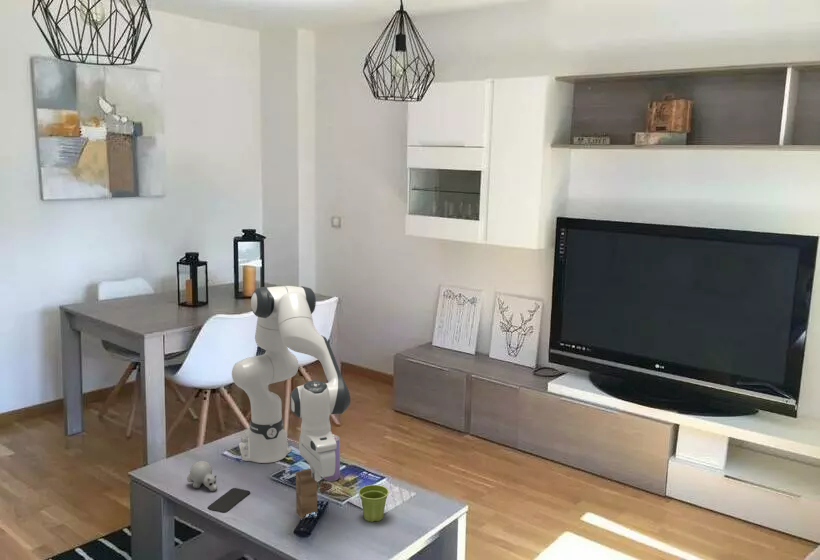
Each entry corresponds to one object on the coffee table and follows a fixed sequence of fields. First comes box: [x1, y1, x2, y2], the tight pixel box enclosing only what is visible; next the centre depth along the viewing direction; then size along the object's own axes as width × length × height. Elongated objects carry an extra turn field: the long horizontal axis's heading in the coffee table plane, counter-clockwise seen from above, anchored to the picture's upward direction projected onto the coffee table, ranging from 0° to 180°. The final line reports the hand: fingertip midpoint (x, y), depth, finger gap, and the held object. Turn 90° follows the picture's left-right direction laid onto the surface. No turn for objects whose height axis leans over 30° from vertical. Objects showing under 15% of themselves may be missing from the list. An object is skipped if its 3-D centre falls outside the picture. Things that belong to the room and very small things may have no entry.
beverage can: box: [322, 434, 341, 482], centre depth 249 cm, size 6×6×15 cm
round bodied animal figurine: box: [186, 460, 218, 492], centre depth 240 cm, size 7×12×8 cm, turn 53°
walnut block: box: [295, 468, 318, 519], centre depth 223 cm, size 5×5×14 cm
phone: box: [207, 487, 251, 514], centre depth 232 cm, size 7×1×15 cm
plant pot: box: [358, 484, 390, 523], centre depth 223 cm, size 9×9×9 cm
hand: (316, 479), depth 215 cm, fingers closed
